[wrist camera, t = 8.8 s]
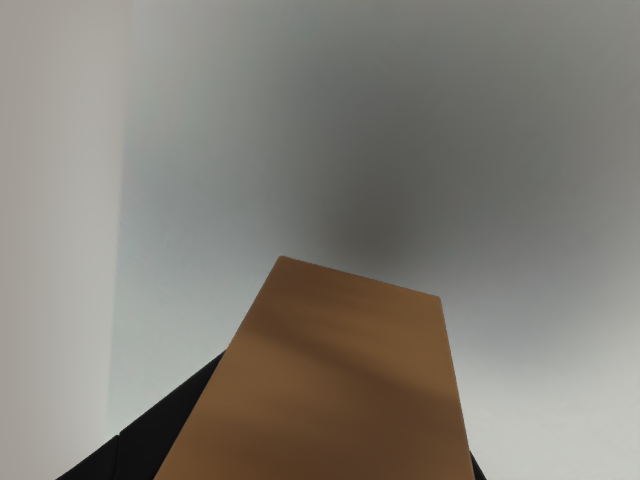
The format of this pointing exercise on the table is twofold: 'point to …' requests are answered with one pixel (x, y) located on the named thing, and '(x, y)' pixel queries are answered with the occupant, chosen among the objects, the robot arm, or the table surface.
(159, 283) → the table surface
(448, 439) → the block
